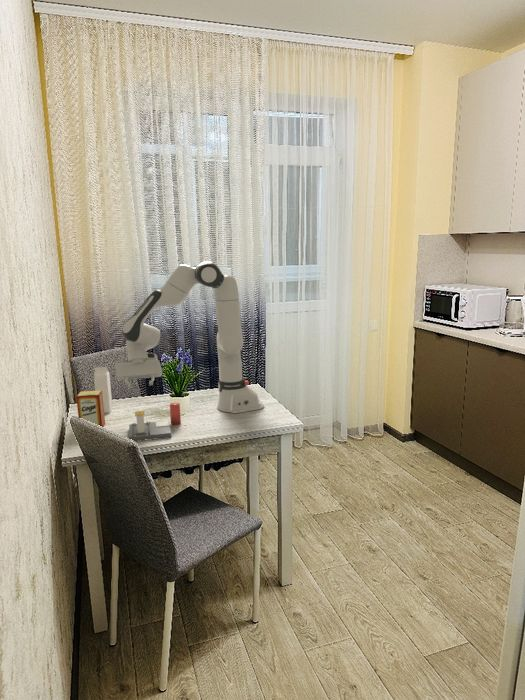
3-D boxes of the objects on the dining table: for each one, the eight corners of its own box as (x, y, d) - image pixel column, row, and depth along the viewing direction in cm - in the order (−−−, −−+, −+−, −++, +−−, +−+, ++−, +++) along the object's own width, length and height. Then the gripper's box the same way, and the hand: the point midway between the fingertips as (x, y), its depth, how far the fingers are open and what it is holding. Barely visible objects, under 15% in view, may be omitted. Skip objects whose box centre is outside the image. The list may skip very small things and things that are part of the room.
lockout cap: (180, 421, 224) (179, 402, 222) (181, 424, 220) (180, 405, 218) (170, 422, 223) (169, 403, 221) (171, 425, 219) (170, 406, 217)
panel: (169, 424, 220) (168, 419, 220) (171, 437, 206) (170, 431, 205) (129, 428, 216) (129, 422, 216) (129, 441, 202) (128, 435, 201)
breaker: (146, 430, 208) (145, 410, 206) (146, 434, 203) (145, 414, 201) (135, 431, 207) (134, 411, 205) (135, 436, 202) (134, 415, 200)
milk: (110, 413, 237) (106, 368, 232) (97, 413, 236) (93, 369, 231) (112, 409, 242) (108, 365, 237) (100, 409, 242) (96, 365, 237)
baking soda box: (79, 430, 216) (76, 395, 212) (83, 424, 222) (80, 390, 218) (102, 429, 217) (98, 394, 213) (105, 423, 223) (102, 389, 219)
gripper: (113, 357, 222) (115, 384, 215) (160, 354, 227) (163, 380, 220) (114, 364, 227) (116, 391, 220) (159, 361, 233) (163, 387, 226)
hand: (140, 385), depth 220 cm, fingers open, 8 cm apart
